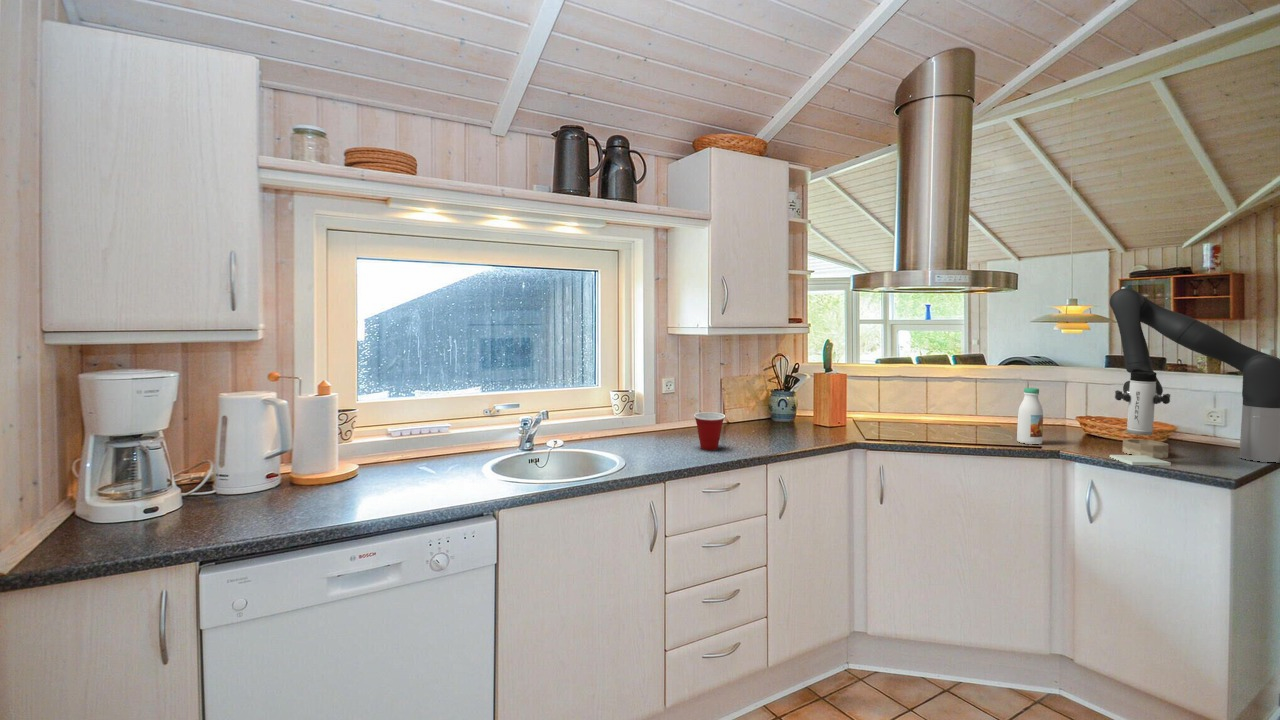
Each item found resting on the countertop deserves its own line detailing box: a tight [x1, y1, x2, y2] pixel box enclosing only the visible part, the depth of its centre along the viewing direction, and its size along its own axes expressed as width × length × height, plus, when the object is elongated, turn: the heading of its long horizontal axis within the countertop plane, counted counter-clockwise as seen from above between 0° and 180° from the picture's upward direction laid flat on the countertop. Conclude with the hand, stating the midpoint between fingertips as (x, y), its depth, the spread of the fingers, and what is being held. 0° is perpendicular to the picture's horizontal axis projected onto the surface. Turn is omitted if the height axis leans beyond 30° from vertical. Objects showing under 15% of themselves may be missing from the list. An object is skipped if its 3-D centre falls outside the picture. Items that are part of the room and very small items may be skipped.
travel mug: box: [1126, 369, 1157, 436], centre depth 188 cm, size 6×7×20 cm
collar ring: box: [1121, 438, 1170, 459], centre depth 200 cm, size 11×11×4 cm
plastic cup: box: [693, 411, 726, 451], centre depth 207 cm, size 11×11×12 cm
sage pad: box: [1109, 454, 1172, 467], centre depth 189 cm, size 11×10×1 cm
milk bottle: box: [1016, 387, 1044, 445], centre depth 218 cm, size 8×8×20 cm
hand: (1141, 399), depth 186 cm, fingers closed on travel mug, 6 cm apart
